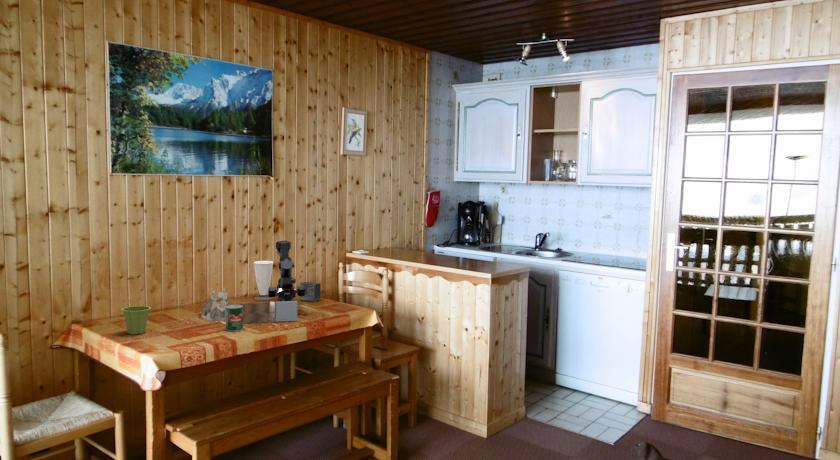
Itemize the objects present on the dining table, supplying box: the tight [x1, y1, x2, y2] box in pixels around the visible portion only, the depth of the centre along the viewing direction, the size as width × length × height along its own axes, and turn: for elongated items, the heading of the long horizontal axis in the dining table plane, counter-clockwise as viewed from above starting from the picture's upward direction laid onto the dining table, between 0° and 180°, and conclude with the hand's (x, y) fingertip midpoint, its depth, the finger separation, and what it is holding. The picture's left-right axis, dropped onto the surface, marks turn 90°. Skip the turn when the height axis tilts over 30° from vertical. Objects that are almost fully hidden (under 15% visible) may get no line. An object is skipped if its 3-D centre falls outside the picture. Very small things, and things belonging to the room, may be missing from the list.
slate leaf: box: [269, 300, 298, 323], centre depth 296 cm, size 13×2×10 cm, turn 104°
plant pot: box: [121, 305, 152, 335], centre depth 271 cm, size 12×12×11 cm
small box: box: [299, 281, 322, 303], centre depth 348 cm, size 11×6×10 cm, turn 65°
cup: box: [253, 260, 275, 301], centre depth 352 cm, size 12×12×22 cm
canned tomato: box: [225, 304, 244, 332], centre depth 280 cm, size 8×8×11 cm
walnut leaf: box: [238, 301, 276, 325], centre depth 293 cm, size 17×2×10 cm, turn 106°
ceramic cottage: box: [200, 287, 230, 322], centre depth 302 cm, size 16×16×15 cm
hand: (287, 305), depth 304 cm, fingers closed
